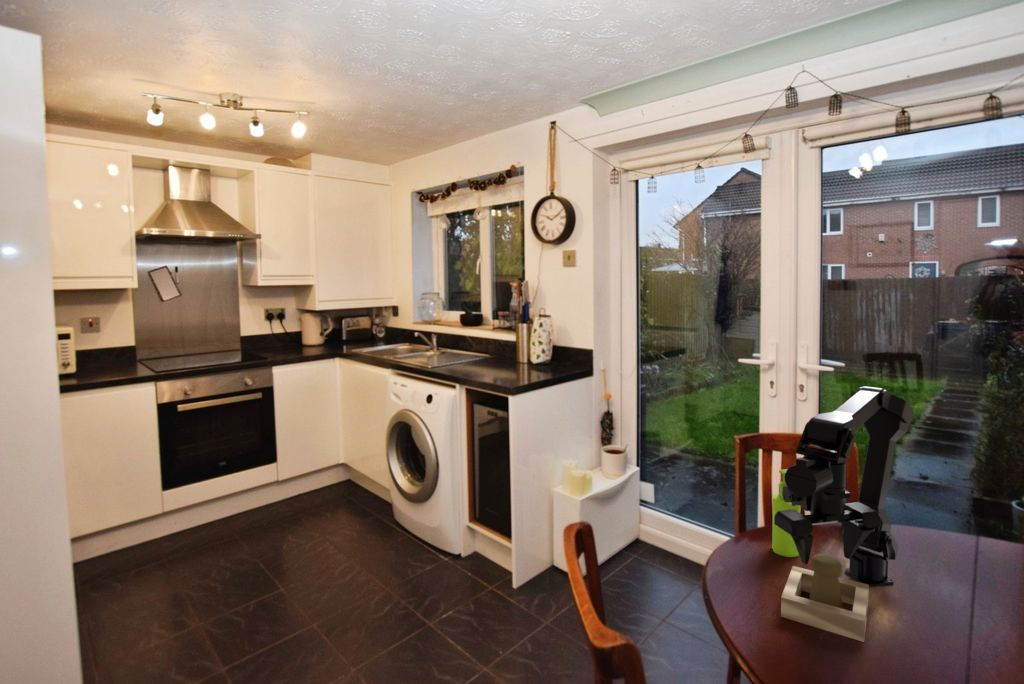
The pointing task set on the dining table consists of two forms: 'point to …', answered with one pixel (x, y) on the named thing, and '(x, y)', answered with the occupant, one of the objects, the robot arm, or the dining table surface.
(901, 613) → the dining table surface
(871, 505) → the robot arm
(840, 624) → the socket block
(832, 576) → the olive round-headed peg
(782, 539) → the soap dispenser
